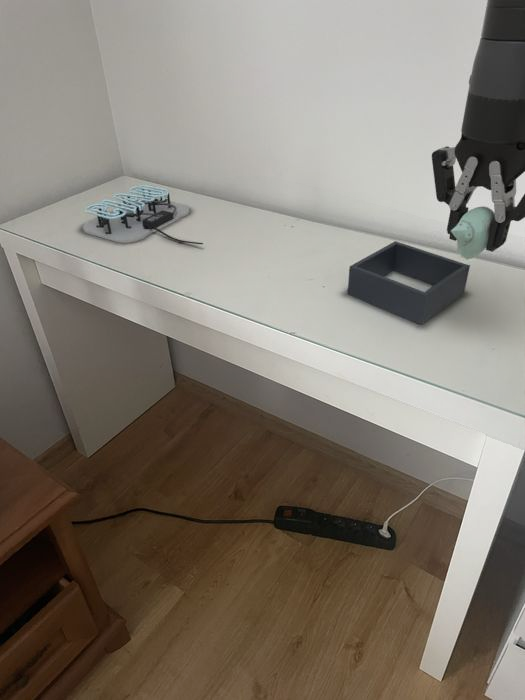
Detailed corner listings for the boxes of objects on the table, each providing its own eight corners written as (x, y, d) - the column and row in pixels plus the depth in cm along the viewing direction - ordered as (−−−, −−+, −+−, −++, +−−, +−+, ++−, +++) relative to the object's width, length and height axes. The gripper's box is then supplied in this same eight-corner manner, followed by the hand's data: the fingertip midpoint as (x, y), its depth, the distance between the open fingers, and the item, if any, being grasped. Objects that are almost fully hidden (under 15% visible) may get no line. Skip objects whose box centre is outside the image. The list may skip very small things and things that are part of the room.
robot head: (470, 244, 69) (481, 193, 65) (500, 253, 67) (514, 201, 63) (438, 265, 64) (448, 212, 60) (469, 276, 62) (482, 221, 58)
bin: (463, 293, 84) (470, 265, 81) (421, 325, 77) (426, 295, 74) (391, 267, 92) (395, 240, 89) (347, 294, 85) (349, 266, 82)
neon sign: (181, 239, 94) (70, 210, 107) (184, 261, 97) (75, 230, 110) (247, 202, 108) (142, 180, 122) (248, 221, 111) (145, 198, 124)
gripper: (595, 90, 52) (545, 250, 62) (461, 77, 61) (437, 219, 71) (565, 102, 48) (517, 272, 58) (426, 86, 56) (405, 237, 66)
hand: (473, 242), depth 64 cm, fingers closed on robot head, 4 cm apart
